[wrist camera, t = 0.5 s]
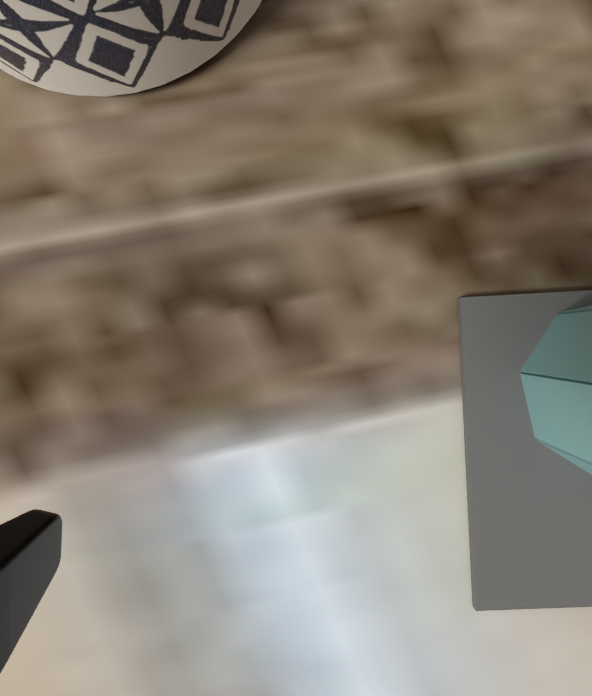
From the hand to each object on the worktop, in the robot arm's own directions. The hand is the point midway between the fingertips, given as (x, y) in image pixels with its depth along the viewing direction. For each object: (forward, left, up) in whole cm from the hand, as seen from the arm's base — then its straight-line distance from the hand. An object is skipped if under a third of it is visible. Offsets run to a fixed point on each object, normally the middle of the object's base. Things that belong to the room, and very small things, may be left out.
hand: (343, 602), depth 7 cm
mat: (-1, -11, -14) cm, 17 cm away
